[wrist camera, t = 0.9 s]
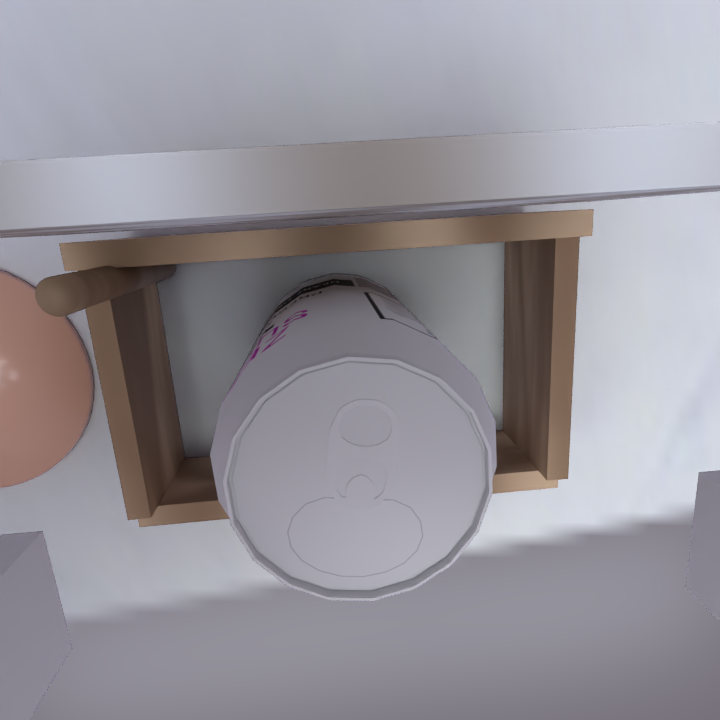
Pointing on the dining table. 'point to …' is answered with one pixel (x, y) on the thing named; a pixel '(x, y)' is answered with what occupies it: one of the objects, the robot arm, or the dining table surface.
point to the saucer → (38, 385)
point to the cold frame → (329, 200)
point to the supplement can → (353, 445)
